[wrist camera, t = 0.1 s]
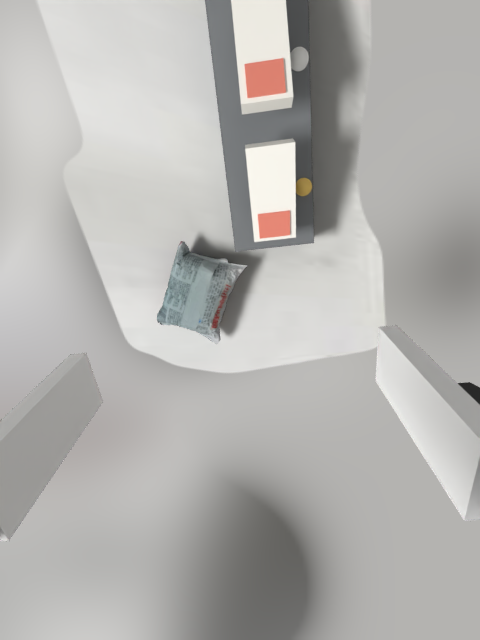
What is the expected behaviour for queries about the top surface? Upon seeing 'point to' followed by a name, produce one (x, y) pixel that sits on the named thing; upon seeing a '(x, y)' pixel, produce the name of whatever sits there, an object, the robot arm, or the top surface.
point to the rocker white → (262, 55)
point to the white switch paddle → (272, 189)
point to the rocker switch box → (263, 122)
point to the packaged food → (198, 292)
